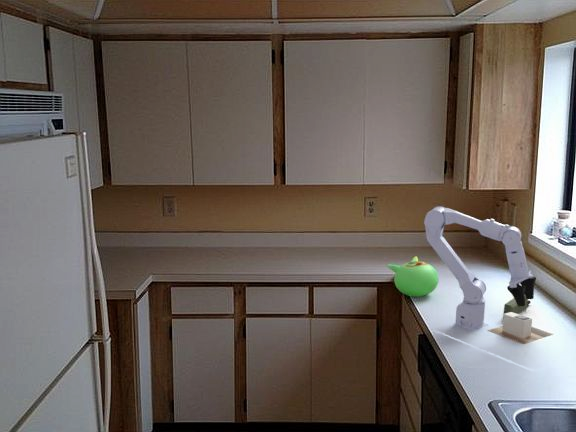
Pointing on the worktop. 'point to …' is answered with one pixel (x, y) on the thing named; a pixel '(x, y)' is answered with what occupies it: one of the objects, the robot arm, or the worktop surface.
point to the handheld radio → (515, 306)
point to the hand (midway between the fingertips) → (526, 302)
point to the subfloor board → (534, 336)
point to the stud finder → (517, 325)
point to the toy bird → (415, 278)
